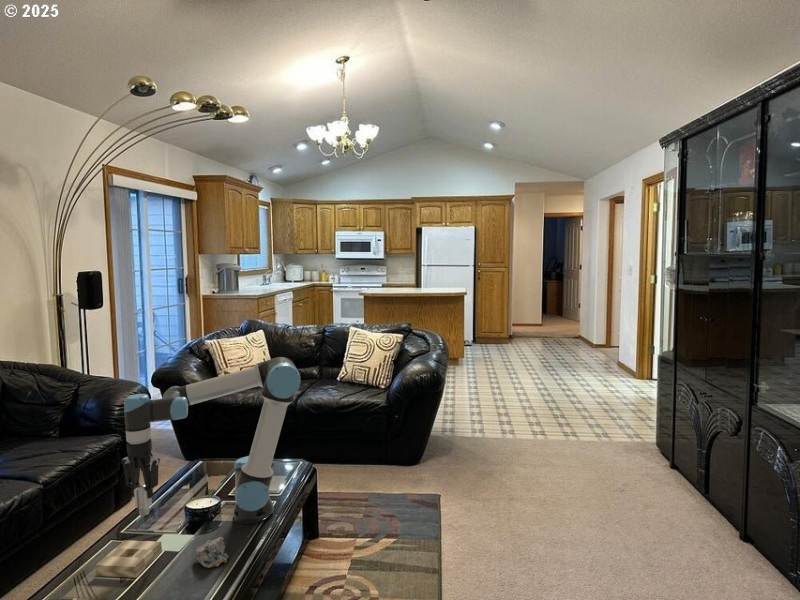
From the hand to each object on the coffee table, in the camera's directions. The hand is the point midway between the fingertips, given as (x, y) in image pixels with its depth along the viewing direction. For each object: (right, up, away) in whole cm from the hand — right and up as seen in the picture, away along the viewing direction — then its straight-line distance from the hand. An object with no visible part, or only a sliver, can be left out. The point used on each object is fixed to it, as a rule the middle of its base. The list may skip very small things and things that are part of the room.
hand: (143, 506), depth 174 cm
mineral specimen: (+25, -17, -4) cm, 31 cm away
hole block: (-3, -18, -4) cm, 19 cm away
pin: (0, -3, 0) cm, 3 cm away
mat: (+6, -16, +8) cm, 19 cm away
